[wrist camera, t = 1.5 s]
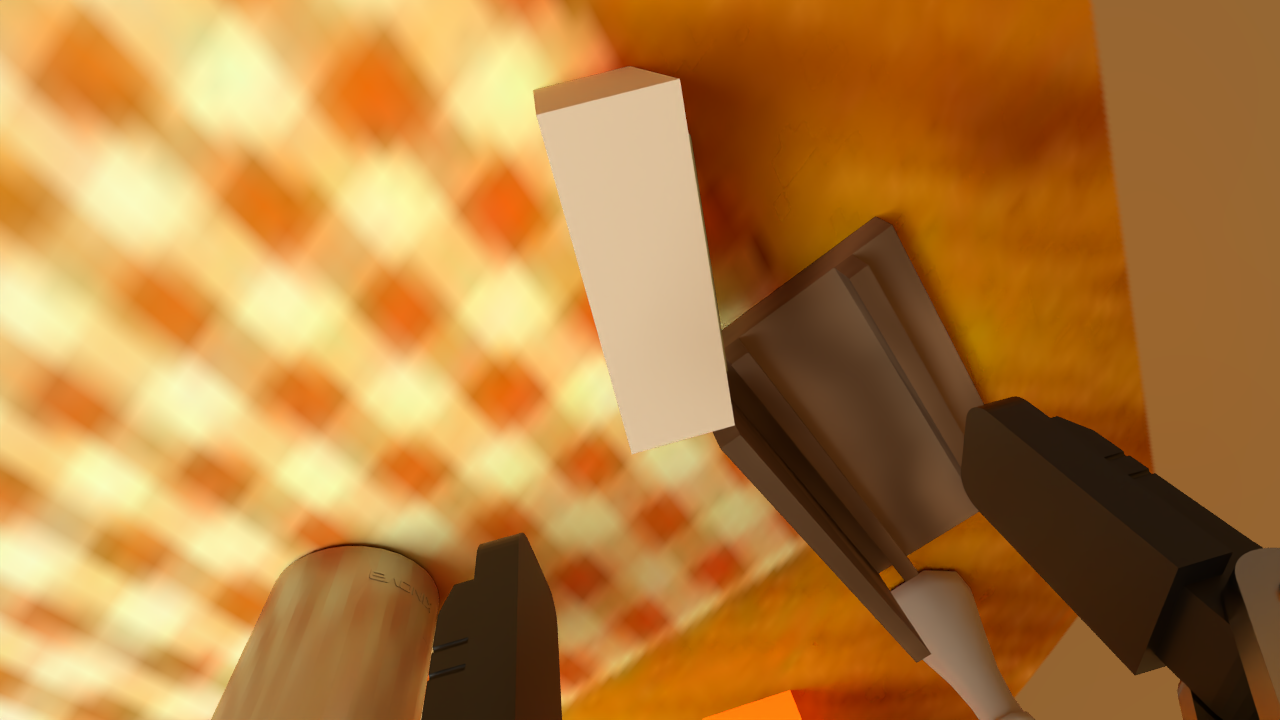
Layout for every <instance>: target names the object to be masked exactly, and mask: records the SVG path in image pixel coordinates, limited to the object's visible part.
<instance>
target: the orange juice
mask: <svg viewBox="0 0 1280 720" xmlns="http://www.w3.org/2000/svg"><path fill="white" fill-rule="evenodd" d="M703 720H802V718H801V716H800V713H799V711H798V709H797V706H796V704H795V701H794V699H793V696H792V694H791V691H790V690H789V691H786V692H783V693H780V694H777V695H774V696H771V697H767V698H764V699H761V700H758V701H755V702H752V703H749V704H746V705H743V706H740V707H737V708H734V709H731V710H728V711H725V712H722V713H719V714H716V715H713V716H709V717H706V718H703Z"/></svg>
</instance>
